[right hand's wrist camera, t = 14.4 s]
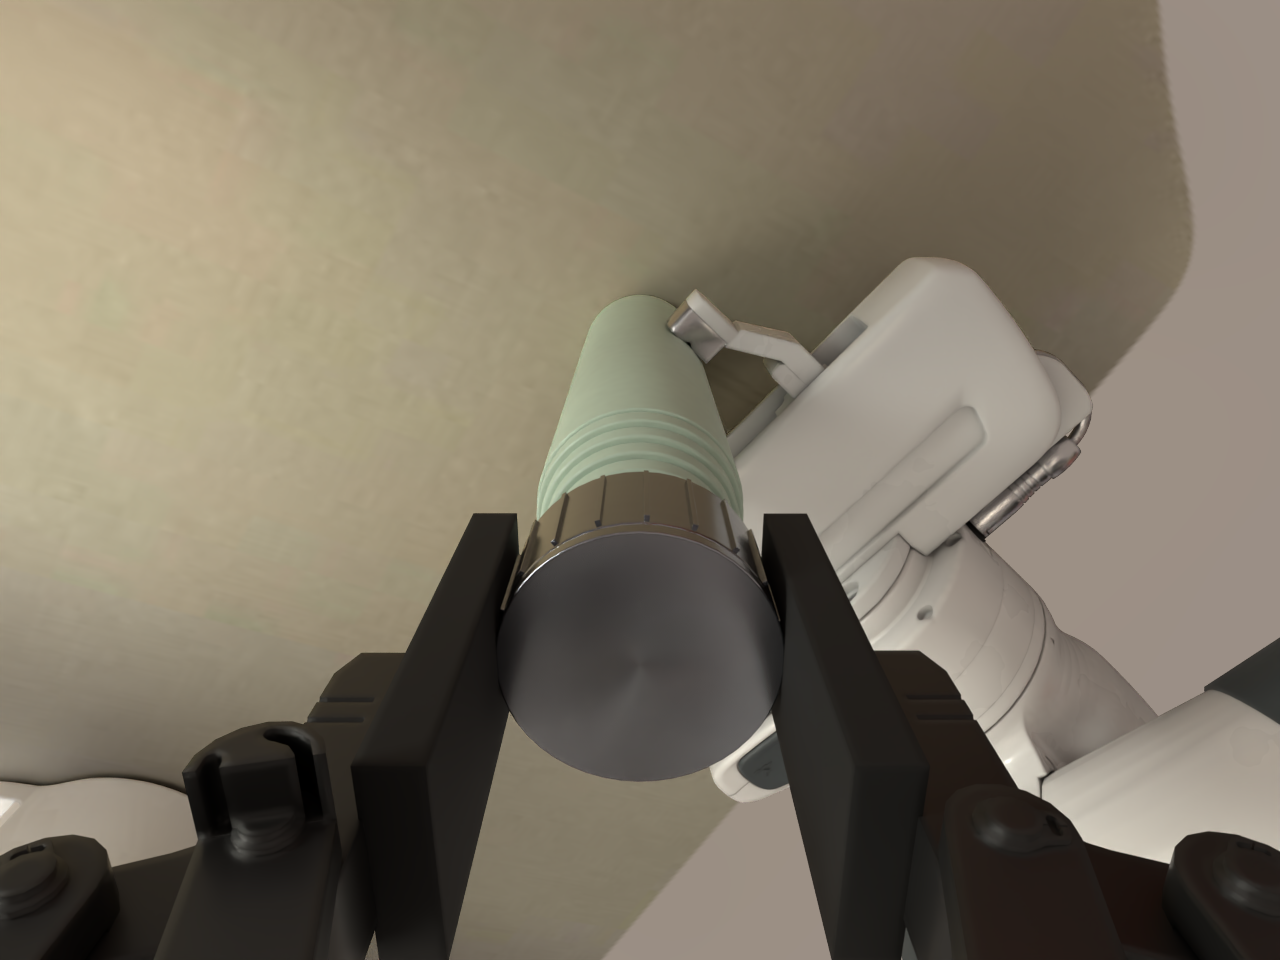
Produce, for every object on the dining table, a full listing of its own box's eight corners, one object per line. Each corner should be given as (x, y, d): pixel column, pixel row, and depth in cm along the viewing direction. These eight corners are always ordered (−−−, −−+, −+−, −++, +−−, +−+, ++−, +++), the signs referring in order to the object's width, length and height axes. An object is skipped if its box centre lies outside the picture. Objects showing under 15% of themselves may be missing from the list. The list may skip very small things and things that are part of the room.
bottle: (565, 367, 34) (442, 685, 13) (622, 272, 33) (590, 455, 12) (656, 422, 35) (682, 808, 14) (716, 333, 34) (845, 606, 13)
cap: (773, 678, 15) (797, 771, 13) (536, 702, 16) (518, 797, 13) (756, 454, 14) (780, 513, 11) (494, 483, 14) (464, 547, 12)
